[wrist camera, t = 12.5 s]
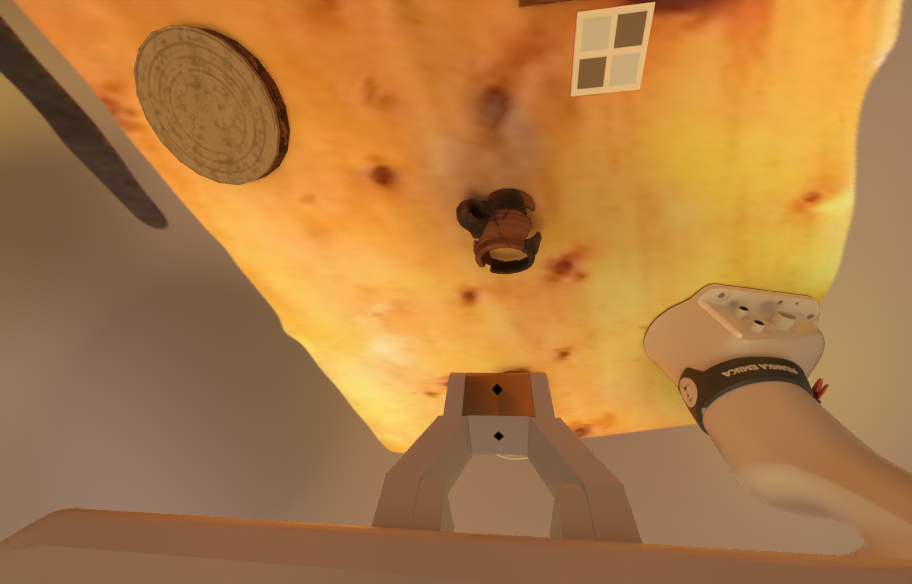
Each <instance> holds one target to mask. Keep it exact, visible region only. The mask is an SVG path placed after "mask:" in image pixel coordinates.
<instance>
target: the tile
mask: <svg viewBox="0 0 912 584" xmlns="http://www.w3.org/2000/svg"><path fill="white" fill-rule="evenodd" d="M654 7H655V2H650V3H643V4H635V5H627V6H620V7H612V8H605V9H597V10H589V11H582V12H577V14H576V27H575V40H574V52H573V65H572V77H571V90H570V96H580V95H590V94H600V93H610V92H620V91H630V90H640V86H641V81H642V75H643V69H644V64H645V58H646V52H647V46H648V41H649V35H650V29H651V24H652V18H653V12H654Z"/></svg>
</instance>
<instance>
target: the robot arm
mask: <svg viewBox="0 0 912 584" xmlns="http://www.w3.org/2000/svg"><path fill="white" fill-rule="evenodd" d="M721 293H722V294H721ZM719 294H720V295H719ZM819 315H820V308H819V304H818V302H817V301H816V300H815V299H814V298H813V297H809V296H803V295H795V294H788V293H780V292H772V291H765V290H757V289H749V288H742V287H734V286H727V285H719V284H711V285H708V286H706V287H704V288H703V289H701V290H700V291H699V292H698V293H696V294H695V295H694V296H693V297H692V298H691V299H689V300H687V301H685V302H683V303H681V304H679V305H676V306H674V307H673V308H671V309H669V310H667V311H666V312H665V313H663V314H662V315H661V316H659V317H658V318H657V319H656V320H655V321H654V322H653V323H652V325H651V326H650V328H649V329H648V331H647V333H646V336H645V339H644V349H645V352H646V354H647V356H648V357H649V358H650V359H651V360H652V361H653V362H654V363H655V364H656V365H657V366H659V367H660V368H661V369H662V370H663V371H664V372H665V373H666V374H667V376H668V377H669V378H670V379H671V380H672V381H673V383H674V384H675V385H676V386H677V388H678V389H679V391H680V394H681V396H682V398H683V400H684V402H685V404H686V406H687V407H688V409H689V411H690V412H691V414H692V415H693V417H694V418H695V420H696V422H697V423H698V425H699V426H700V427H701V429H702V430H703V431H704V432H705V433H707V434H708V435H709V436H710V437H711V439H712V441H713V442H714V444H715V446H716V447H717V449H718V450H719V452H720V454H721V455H722V457H723V459H724V460H725V462H726V464H727V465H728V467H729V468H730V470H731V472H732V473H733V475H734V476H735V478H736V480H737V481H738V483H739V484H740V485H741V486H742V487H743V488H744V489H745V490H746V491H747V492H748V493H749V494H750V495H752V496H753V497H754V498H756V499H757V500H759V501H760V502H762V503H764V504H766V505H768V506H770V507H773V508H776V509H778V510H782V511H785V512H789V513H793V514H797V515H803V516H809V517H817V518H825V519H831V520H836V521H840V522H843V523H847V524H850V525H852V526H853V527H854V529H855V530H856V531H857V532H858V533H859V535H860V536H861V537H862V539H863V541H864V545H863V547H861V548H859V549H857V550H856V551H855V552H851V553H847V554H843V555H839V556H837V555H819V554H805V553H804V554H803V553H788V552H772V551H756V550H740V549H724V548H708V547H692V546H676V545H659V544H644V543H642V541H641V538H640V535H639V532H638V529H637V525H636V522H635V520H634V516H633V514H632V510H631V507H630V504H629V501H628V498H627V495H626V492H625V489H624V485H623V484H622V483H621V482H620V481H619V480H618V479H617V478H616V477H615V475H614V474H613V473H612V472H611V471H610V470H609V469H608V468H607V467H606V466H605V465H604V464H603V463H602V462H601V461H600V460H599V459H598V458H597V457H596V455H595V454H594V453H593V452H592V451H591V450H590V449H589V448H588V447H587V446H586V445H585V444H584V443H583V442H582V441H581V440H580V438H579V437H578V436H577V435H576V434H575V433H574V432H573V431H572V430H571V429H570V428H569V427H568V426H567V425H566V424H565V423H564V422H563V420H562V419H561V418H555V416H554V410H553V405H552V400H551V395H550V389H549V384H548V379H547V375H546V373H450V375H449V380H448V387H447V394H446V401H445V408H444V414H443V416H438V417H437V418H436V419H435V420H434V421H433V423H432V424H431V425H430V426H429V427H428V428H427V429H426V430H425V431H424V433H423V434H422V435H421V436H420V437H419V438H418V439H417V440H416V441H415V443H414V444H413V445H412V446H411V447H410V448H409V449H408V450H407V451H406V453H405V454H404V455H403V456H402V457H401V458H400V459H399V460H398V461H397V463H396V464H395V465H394V466H393V467H392V468H391V469H390V470H389V471H388V473H387V474H386V476H385V479H384V483H383V487H382V490H381V494H380V498H379V502H378V506H377V509H376V512H375V516H374V520H373V524H372V527H368V526H352V525H336V524H319V523H304V522H288V521H272V520H256V519H240V518H224V517H207V516H191V515H175V514H160V513H144V512H127V511H111V510H110V511H109V510H94V509H81V508H71V509H61V510H57V511H54V512H51V513H49V514H47V515H46V516H44V517H42V518H40V519H39V520H36V521H35V522H33V523H31V524H29V525H27V526H26V527H24V528H22V529H21V530H19V531H17V532H16V533H14V534H13V535H11V536H9V537H8V538H6V539H4V540H3V541H1V542H0V584H912V473H911V472H909V471H907V470H905V469H903V468H902V467H899V466H898V465H896V464H894V463H893V462H891V461H889V460H888V459H886V458H885V457H883V456H882V455H880V454H878V453H877V452H876V451H874V450H873V449H872V448H870V447H869V446H867V445H866V444H865V443H864V442H862V441H861V440H860V439H859V438H858V437H856V436H855V435H854V434H853V433H851V432H850V431H849V430H848V429H847V428H846V427H845V426H843V425H842V424H841V423H840V422H839V421H838V420H837V419H835V418H834V417H833V416H832V415H831V414H830V413H829V412H828V411H826V409H825V408H823V407H822V406H821V405H820V403H821V401H820V400H819V399H820V398H821V396H822V395H823V394H824V392H825V391H826V389H827V388H828V386H829V385H828V384H826V385H825V386H824V387H823V388H822V389H821V387H822V382H823V379H818V381H817V382H816V383H815V385H814V386H813V388H812V389H811V387H810V385H809V382H808V380H807V378H808V376H809V375H810V374H811V372H812V371H813V369H814V368H815V366H816V365H817V363H818V361H819V360H820V358H821V356H822V353H823V350H824V337H823V335H822V333H821V332H820V330H819V329H818V328H817V327H816V325H817V323H818V319H819ZM820 389H821V390H820ZM499 453H500V455H517V456H528V458H529V460H530V462H531V463H532V464H533V466H534V468H535V469H536V471H537V472H538V474H539V475H540V477H541V478H542V479H543V481H544V482H545V484H546V486H547V487H548V489H549V490H550V492H551V493H552V495H553V497H554V505H553V513H552V520H551V527H550V538H547V537H530V536H515V535H514V536H513V535H499V534H482V533H465V532H454V524H453V519H452V515H451V510H450V505H449V501H448V493H449V492H450V490H451V488H452V487H453V485H454V484H455V482H456V480H457V479H458V477H459V476H460V474H461V473H462V471H463V469H464V468H465V466H466V464H467V463H468V461H469V460H470V458H471V457H472V454H499Z"/></svg>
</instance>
